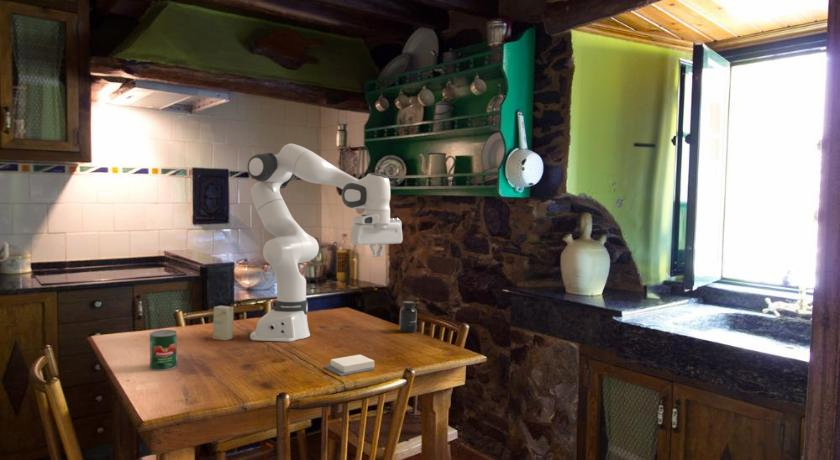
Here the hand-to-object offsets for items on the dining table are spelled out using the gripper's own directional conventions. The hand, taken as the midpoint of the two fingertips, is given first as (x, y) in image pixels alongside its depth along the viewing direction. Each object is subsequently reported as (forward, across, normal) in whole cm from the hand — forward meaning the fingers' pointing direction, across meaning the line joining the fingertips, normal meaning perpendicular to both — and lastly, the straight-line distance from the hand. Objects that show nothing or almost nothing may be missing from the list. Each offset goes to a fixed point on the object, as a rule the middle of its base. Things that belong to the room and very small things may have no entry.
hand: (377, 256), depth 216 cm
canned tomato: (+33, +69, -16) cm, 79 cm away
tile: (+32, +14, +18) cm, 39 cm away
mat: (+33, +21, +18) cm, 43 cm away
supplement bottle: (+33, -24, -14) cm, 43 cm away
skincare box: (+33, +42, -42) cm, 68 cm away
